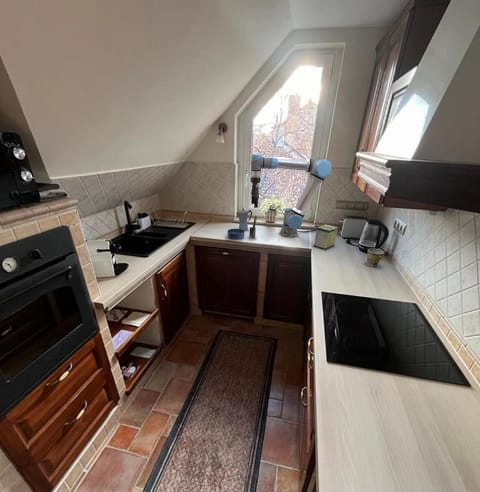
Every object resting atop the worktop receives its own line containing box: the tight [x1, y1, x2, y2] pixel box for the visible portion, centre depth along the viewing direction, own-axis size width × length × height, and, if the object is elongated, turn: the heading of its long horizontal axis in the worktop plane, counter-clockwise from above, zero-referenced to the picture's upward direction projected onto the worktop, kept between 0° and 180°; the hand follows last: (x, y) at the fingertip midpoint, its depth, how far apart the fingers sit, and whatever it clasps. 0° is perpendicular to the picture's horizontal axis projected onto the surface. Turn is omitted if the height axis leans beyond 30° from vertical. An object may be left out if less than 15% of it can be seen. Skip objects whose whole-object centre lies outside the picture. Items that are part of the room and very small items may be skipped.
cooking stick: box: [252, 215, 258, 229], centre depth 212 cm, size 2×2×18 cm
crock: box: [248, 226, 257, 239], centre depth 214 cm, size 5×5×9 cm
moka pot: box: [236, 208, 253, 232], centre depth 229 cm, size 10×15×20 cm, turn 115°
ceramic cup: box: [365, 248, 385, 268], centre depth 172 cm, size 13×10×10 cm
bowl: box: [226, 228, 246, 241], centre depth 214 cm, size 14×14×6 cm
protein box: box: [313, 223, 339, 251], centre depth 201 cm, size 10×16×16 cm
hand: (254, 205), depth 203 cm, fingers open, 13 cm apart
